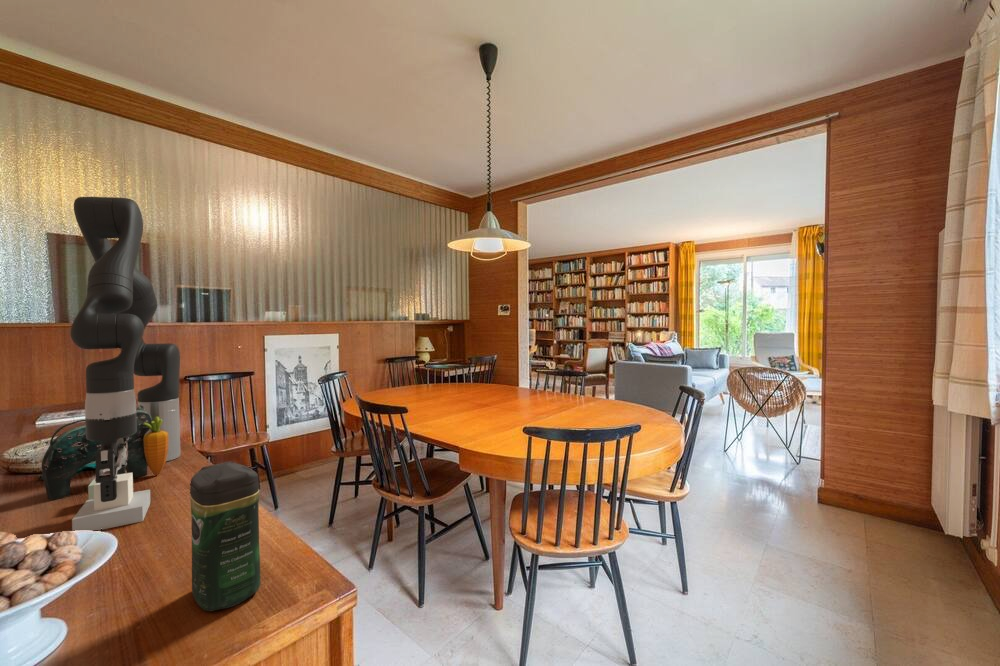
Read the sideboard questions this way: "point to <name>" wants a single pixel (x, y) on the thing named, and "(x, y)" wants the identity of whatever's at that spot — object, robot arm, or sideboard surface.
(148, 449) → the carrot
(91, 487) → the sage block
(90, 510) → the base slab
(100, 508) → the cream block
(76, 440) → the dark green arched piece
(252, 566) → the coffee jar
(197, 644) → the sideboard surface
